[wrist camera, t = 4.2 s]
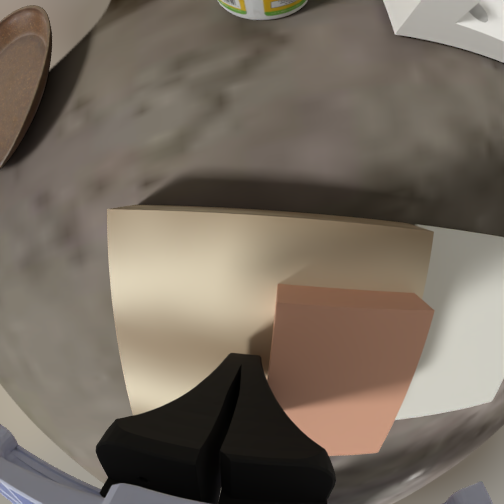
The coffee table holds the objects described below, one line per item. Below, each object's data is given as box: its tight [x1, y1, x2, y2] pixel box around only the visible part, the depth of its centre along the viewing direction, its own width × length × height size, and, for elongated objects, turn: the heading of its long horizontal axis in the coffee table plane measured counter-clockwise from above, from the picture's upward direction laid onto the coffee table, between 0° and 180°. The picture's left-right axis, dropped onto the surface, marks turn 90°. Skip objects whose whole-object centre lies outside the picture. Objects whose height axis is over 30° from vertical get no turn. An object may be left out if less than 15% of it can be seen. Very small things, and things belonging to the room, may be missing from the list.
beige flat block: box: [107, 205, 434, 415], centre depth 14 cm, size 13×14×3 cm
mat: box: [395, 224, 504, 420], centre depth 14 cm, size 13×12×1 cm
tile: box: [267, 284, 435, 456], centre depth 11 cm, size 8×6×2 cm
